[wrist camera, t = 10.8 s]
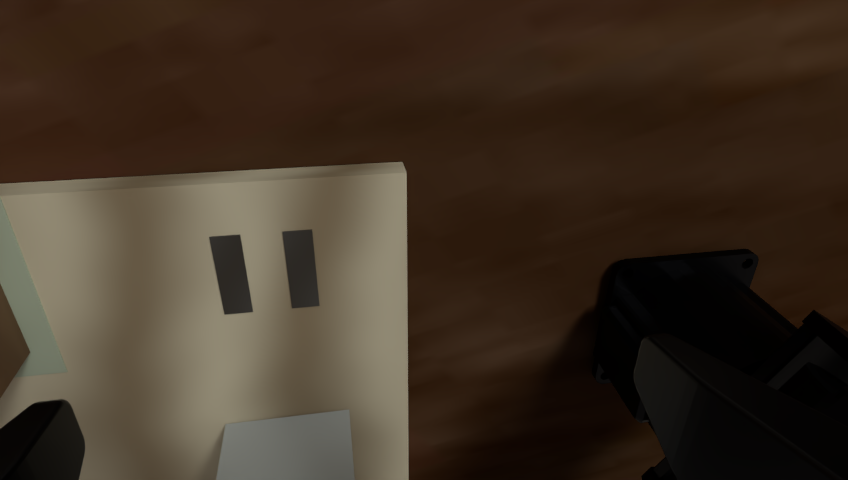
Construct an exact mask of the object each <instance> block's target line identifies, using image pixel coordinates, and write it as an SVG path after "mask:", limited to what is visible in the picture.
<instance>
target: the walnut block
mask: <svg viewBox="0 0 848 480" xmlns="http://www.w3.org/2000/svg"><path fill="white" fill-rule="evenodd" d="M29 354H30V350H29V348H28V345H27V343H26V341H25V339H24V336H23V334H22V332H21V330H20V327H19V325H18V323H17V320H16V318H15V316H14V314H13V311H12V309H11V307H10V304H9V302H8V300H7V298H6V295H5V293H4V291H3V289H2V286H1V284H0V398H1V397H2V395H3V394H4V392H5V391H6V389H7V387H8V386H9V384H10V383H11V381H12V380H13V378H14V377H15V375H16V374H17V372H18V371H19V369H20V367H21V366H22V364H23V363H24V361H25V360H26V358H27V357H28V355H29Z"/></svg>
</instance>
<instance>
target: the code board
mask: <svg viewBox="0 0 848 480" xmlns="http://www.w3.org/2000/svg"><path fill="white" fill-rule="evenodd" d="M0 284H1V286H2V289H3V291H4V293H5V295H6V298H7V300H8V302H9V304H10V307H11V309H12V311H13V314H14V316H15V318H16V320H17V323H18V325H19V327H20V330H21V332H22V334H23V336H24V339H25V341H26V343H27V345H28V348H29V350H30V354H29V355H28V357H27V358H26V360H25V361H24V363H23V364H22V366H21V367H20V369H19V371H18V372H17V374H16V375H15V377H14V378H13V380H12V381H11V383H10V384H9V386H8V387H7V389H6V391H5V392H4V394H3V395H2V397H1V398H0V428H2V427H3V426H4V425H6V424H7V423H8V422H9V421H11V420H12V419H13V418H15V417H16V416H17V415H18V414H20V413H21V412H22V411H23V410H25V409H26V408H27V407H29V406H30V405H32V404H33V403H35V402H39V401H48V400H57V399H64V400H67V401H68V402H69V403H70V404H71V406H72V408H73V411H74V413H75V416H76V418H77V421H78V423H79V426H80V428H81V431H82V434H83V436H84V440H85V455H84V459H83V464H82V468H81V473H80V477H79V480H216V477H217V471H218V465H219V460H220V454H221V448H222V442H223V436H224V430H225V424H231V423H239V422H248V421H256V420H265V419H273V418H281V417H290V416H298V415H306V414H315V413H323V412H332V411H340V410H348V409H349V413H350V426H351V439H352V451H353V464H354V477H355V480H409V471H408V323H407V175H406V170H405V167H404V165H403V162H391V163H372V164H354V165H336V166H318V167H299V168H281V169H263V170H245V171H226V172H208V173H190V174H172V175H153V176H135V177H117V178H99V179H80V180H62V181H44V182H26V183H7V184H0Z"/></svg>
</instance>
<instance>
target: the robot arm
mask: <svg viewBox="0 0 848 480" xmlns="http://www.w3.org/2000/svg"><path fill="white" fill-rule="evenodd" d="M745 260H746V261H745ZM744 261H745V262H744ZM757 264H758V256H757V255H755V254H754V253H753V252H751V251H750V250H749V249H737V250H726V251H714V252H703V253H691V254H679V255H668V256H656V257H644V258H633V259H624V260H621V261H619V262H617V263H616V264H615V265H614V267H613V269H612V273H611V278H610V283H609V288H608V293H607V298H606V303H605V307H604V308H603V310H602V312H601V316H600V321H599V326H598V331H597V337H596V342H595V347H594V352H593V355H594V357H595V358H594V363H593V368H592V374H593V376H594V378H595V379H596V381H597V382H598V383H601V384H605V383H612V384H613V386H614V387H615V389H616V391H617V392H618V394H619V395H620V397H621V398H622V400H623V401H624V403H625V404H626V406H627V408H628V409H629V411H630V412H631V414H632V415H633V417H634V418H635V419H636V420H637V421H639V422H640V423H643V422H648V423H649V425H650V426H651V428H652V429H653V431H654V432H655V434H656V435H657V438H658V440H659V442H660V445H661V447H662V449H663V451H664V454H665V456H666V457H665V458H664V459H663V460H662V461H661V462H659V463H658V464H657V465H656V466H655V467H651V468H649V469H648V470H647V471H646V472H645V473H644V474H643V475H642V480H848V332H847V331H846V330H844V329H843V328H841V327H840V326H838V325H837V324H835V323H833V322H832V321H830V320H829V319H827V318H826V317H824V316H823V315H821V314H819V313H818V312H816V311H815V310H813V311H812V312H811V313H810V314H809V315H808V316H807V317H806V318H805V319H804V320H803V321H802V322H803V323H804V324H803V325H802V326H801V327H800V328H799V329H797V328H796V327H795V326H794V325H793V324H791V323H790V322H789V321H788V320H787V319H785V318H784V317H783V316H782V315H781V314H779V313H778V312H777V311H776V310H775V309H774V308H772V307H771V306H770V305H769V304H768V303H766V302H765V301H764V300H763V299H762V298H760V297H759V296H758V295H757V294H756V293H754V292H753V291H752V290H751V289H750V288H749V287H750V284H751V281H752V279H753V276H754V273H755V270H756V267H757ZM628 269H629V270H628ZM625 270H628V272H626V273H625V274H623V272H624V271H625ZM603 372H604V373H603ZM84 455H85V440H84V436H83V434H82V431H81V428H80V426H79V423H78V421H77V418H76V416H75V413H74V411H73V408H72V406H71V404H70V403H69V402H68V401H67V400H64V399H57V400H48V401H39V402H35V403H33V404H32V405H30V406H29V407H27V408H26V409H25V410H23V411H22V412H21V413H20V414H18V415H17V416H16V417H15V418H13V419H12V420H11V421H9V422H8V423H7V424H6V425H4V426H3V427H2V428H0V480H79V477H80V473H81V468H82V464H83V459H84Z"/></svg>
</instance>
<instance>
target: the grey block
mask: <svg viewBox="0 0 848 480" xmlns="http://www.w3.org/2000/svg"><path fill="white" fill-rule="evenodd" d="M216 480H355V477H354V464H353V451H352V439H351V426H350V413H349V409H348V410H340V411H332V412H323V413H315V414H306V415H298V416H290V417H281V418H273V419H265V420H256V421H248V422H239V423H231V424H225V430H224V436H223V442H222V448H221V454H220V460H219V465H218V471H217V477H216Z"/></svg>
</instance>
